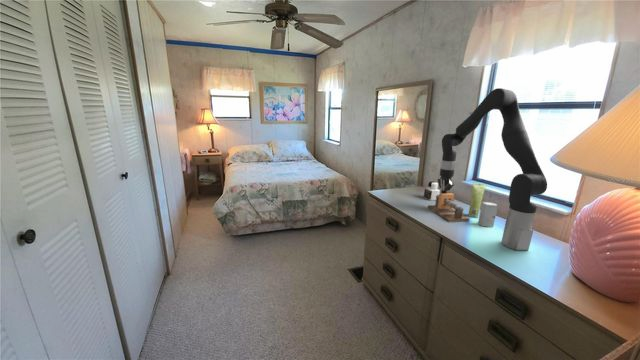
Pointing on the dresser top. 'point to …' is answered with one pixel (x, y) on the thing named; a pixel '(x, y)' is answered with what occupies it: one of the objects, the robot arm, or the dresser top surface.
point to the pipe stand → (449, 211)
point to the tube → (476, 199)
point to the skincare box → (487, 214)
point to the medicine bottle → (431, 191)
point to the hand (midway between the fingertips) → (443, 196)
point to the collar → (445, 196)
